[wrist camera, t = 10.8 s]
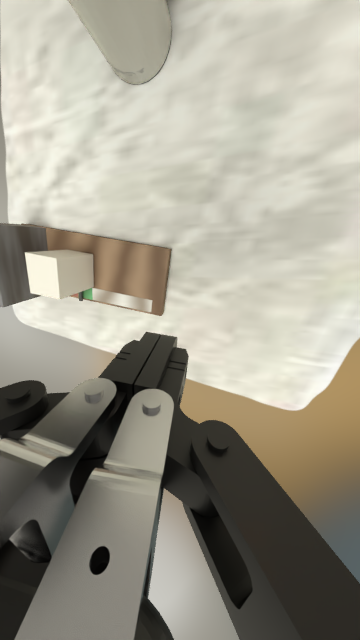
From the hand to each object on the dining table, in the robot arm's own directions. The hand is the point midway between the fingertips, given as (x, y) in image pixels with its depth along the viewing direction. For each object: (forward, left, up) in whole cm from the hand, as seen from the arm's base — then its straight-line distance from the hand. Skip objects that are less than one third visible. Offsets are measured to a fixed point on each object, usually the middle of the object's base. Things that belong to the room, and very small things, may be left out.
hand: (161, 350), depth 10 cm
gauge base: (+3, -21, -28) cm, 35 cm away
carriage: (+5, -24, -26) cm, 35 cm away
